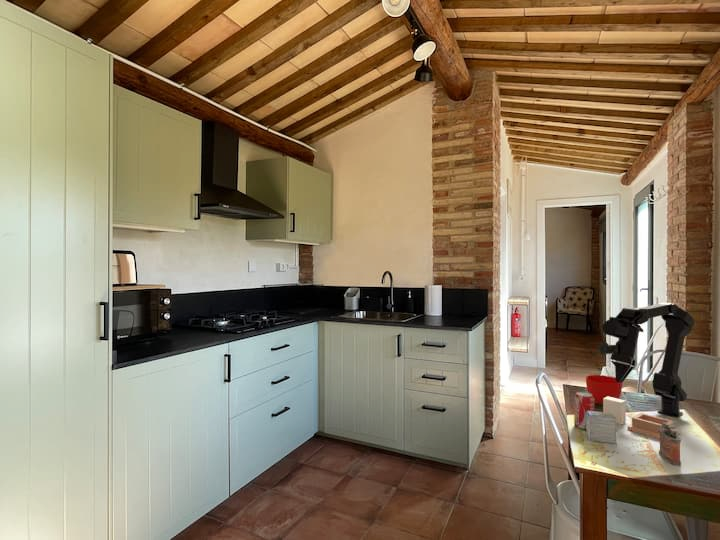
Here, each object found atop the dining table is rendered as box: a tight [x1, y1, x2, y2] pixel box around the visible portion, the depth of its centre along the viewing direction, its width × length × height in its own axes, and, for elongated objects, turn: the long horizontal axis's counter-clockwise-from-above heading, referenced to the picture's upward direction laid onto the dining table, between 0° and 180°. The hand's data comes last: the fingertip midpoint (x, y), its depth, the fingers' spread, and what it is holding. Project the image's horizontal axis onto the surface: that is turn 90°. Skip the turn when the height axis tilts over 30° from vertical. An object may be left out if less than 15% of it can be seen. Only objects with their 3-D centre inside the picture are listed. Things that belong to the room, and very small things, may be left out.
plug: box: [602, 396, 627, 425], centre depth 146 cm, size 4×6×8 cm, turn 36°
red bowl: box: [585, 374, 623, 406], centre depth 167 cm, size 13×17×10 cm
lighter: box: [658, 422, 682, 467], centre depth 117 cm, size 8×3×10 cm, turn 168°
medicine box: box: [586, 410, 618, 444], centre depth 130 cm, size 8×4×9 cm, turn 71°
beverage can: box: [573, 391, 595, 431], centre depth 140 cm, size 6×6×12 cm
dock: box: [627, 412, 680, 440], centre depth 136 cm, size 10×12×4 cm
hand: (619, 382), depth 144 cm, fingers open, 9 cm apart
